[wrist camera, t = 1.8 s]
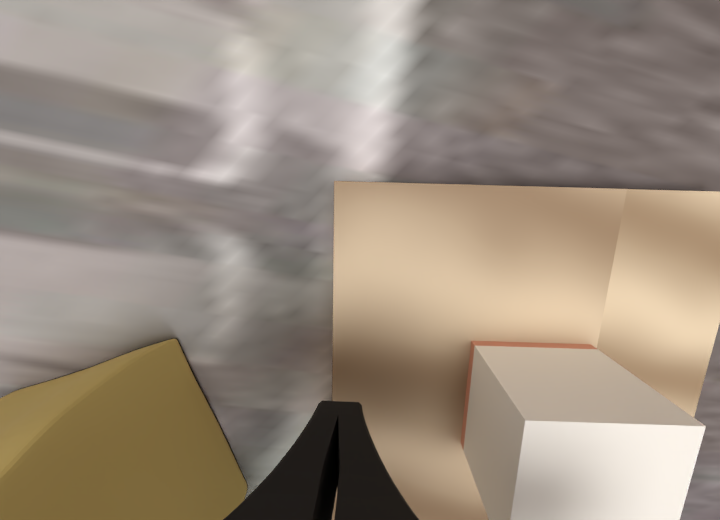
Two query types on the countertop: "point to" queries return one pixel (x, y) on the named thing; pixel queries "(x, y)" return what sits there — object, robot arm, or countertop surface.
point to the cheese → (117, 445)
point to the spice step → (508, 304)
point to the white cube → (572, 436)
